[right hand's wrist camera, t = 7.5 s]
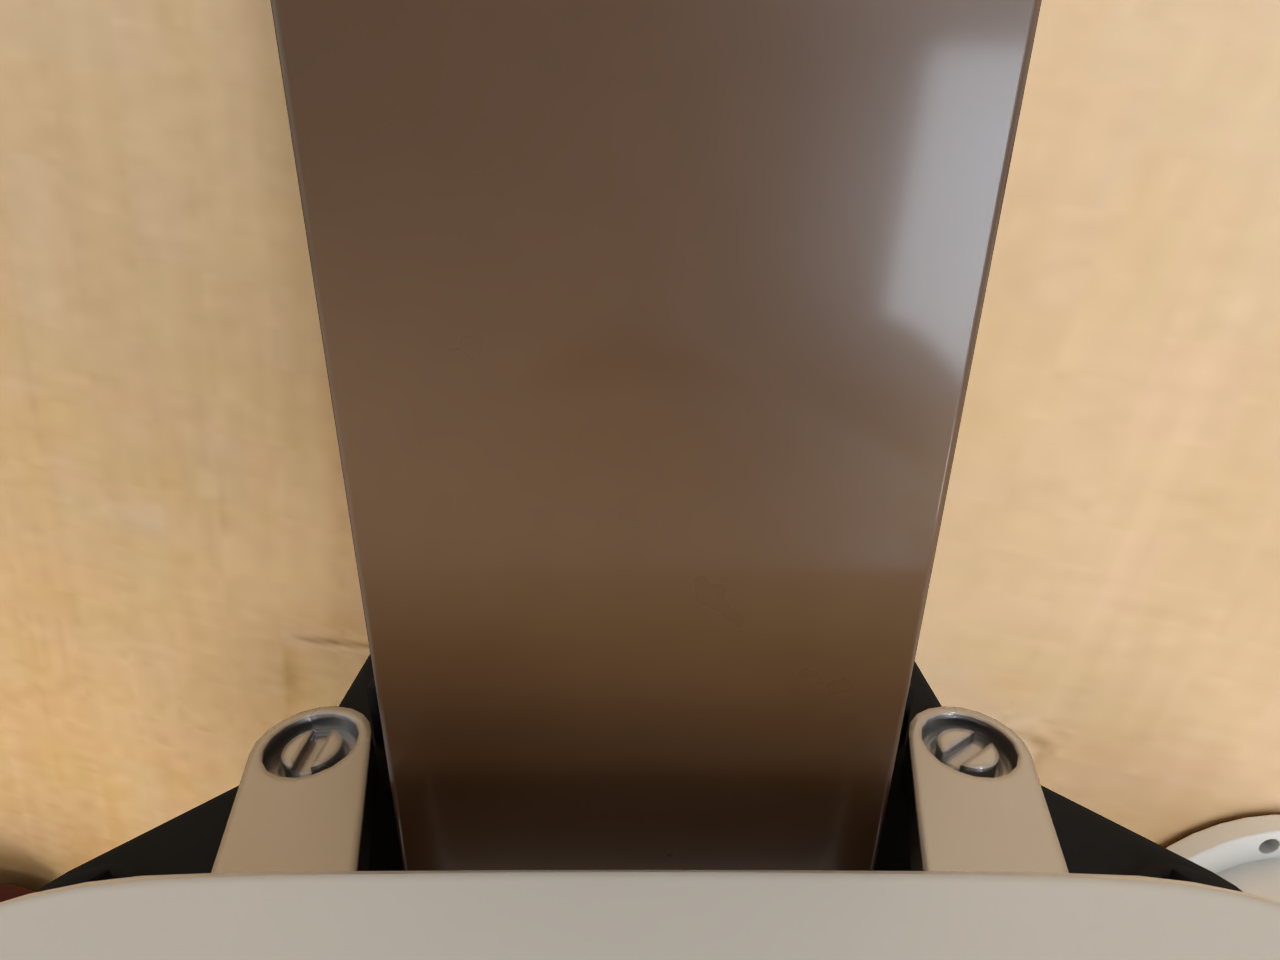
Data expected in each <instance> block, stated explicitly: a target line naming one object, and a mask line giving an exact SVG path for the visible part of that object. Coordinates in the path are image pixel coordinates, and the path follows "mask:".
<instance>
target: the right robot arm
mask: <svg viewBox="0 0 1280 960" xmlns="http://www.w3.org/2000/svg"><path fill="white" fill-rule="evenodd" d="M0 960H1280V815H1264V816H1254V817H1246V818H1241V819H1237V820H1233V821H1229V822H1225V823H1220V824H1217V825H1214V826H1212V827H1209V828H1206V829H1204V830H1201V831H1198V832H1196V833H1193V834H1191V835H1189V836H1187V837H1185V838H1183V839H1181V840H1179V841H1177V842H1176V843H1174V844H1172V845H1170V846H1168V847H1167V848H1164V847H1162V846H1160V845H1158V844H1156V843H1154V842H1152V841H1150V840H1148V839H1146V838H1144V837H1142V836H1140V835H1138V834H1136V833H1134V832H1132V831H1130V830H1128V829H1126V828H1124V827H1123V826H1121V825H1119V824H1117V823H1115V822H1113V821H1111V820H1109V819H1107V818H1105V817H1103V816H1101V815H1099V814H1097V813H1095V812H1093V811H1091V810H1089V809H1087V808H1085V807H1083V806H1081V805H1079V804H1077V803H1075V802H1073V801H1071V800H1069V799H1067V798H1065V797H1063V796H1061V795H1059V794H1057V793H1055V792H1053V791H1051V790H1049V789H1047V788H1045V787H1043V786H1041V785H1040V782H1039V779H1038V776H1037V773H1036V769H1035V766H1034V763H1033V760H1032V757H1031V755H1030V753H1029V751H1028V749H1027V747H1026V745H1025V744H1024V742H1023V741H1022V740H1021V739H1020V738H1019V737H1018V736H1017V735H1016V734H1015V733H1014V732H1013V731H1012V730H1011V729H1009V728H1008V727H1006V726H1005V725H1003V724H1002V723H1000V722H999V721H997V720H995V719H993V718H991V717H988V716H986V715H984V714H981V713H979V712H976V711H972V710H968V709H964V708H958V707H945V706H943V707H942V706H941V705H940V703H939V701H938V700H937V698H936V696H935V695H934V693H933V691H932V689H931V688H930V686H929V684H928V683H927V681H926V679H925V678H924V676H923V674H922V673H921V671H920V669H919V668H918V666H917V664H916V663H915V661H914V666H913V671H912V676H911V681H910V686H909V692H908V697H907V702H906V707H905V712H904V718H903V723H902V728H901V733H900V738H899V743H898V749H897V754H896V759H895V764H894V769H893V775H892V780H891V785H890V790H889V795H888V801H887V806H886V811H885V816H884V821H883V827H882V832H881V837H880V842H879V847H878V853H877V858H876V863H875V868H874V871H832V870H448V871H404V870H403V863H402V856H401V850H400V843H399V837H398V830H397V824H396V817H395V811H394V804H393V798H392V791H391V784H390V778H389V771H388V765H387V758H386V752H385V745H384V739H383V732H382V726H381V719H380V713H379V706H378V699H377V693H376V686H375V680H374V673H373V667H372V660H371V654H370V655H369V657H368V659H367V660H366V662H365V664H364V665H363V667H362V669H361V670H360V672H359V674H358V675H357V677H356V679H355V680H354V682H353V684H352V685H351V687H350V689H349V690H348V692H347V694H346V695H345V697H344V699H343V700H342V702H341V704H340V705H339V707H337V706H335V707H322V708H316V709H312V710H308V711H304V712H301V713H299V714H296V715H294V716H292V717H289V718H287V719H285V720H283V721H281V722H280V723H278V724H277V725H275V726H274V727H272V728H271V729H269V730H268V731H267V732H266V733H265V734H264V735H263V736H262V737H261V738H260V739H259V740H258V741H257V742H256V744H255V745H254V747H253V749H252V751H251V753H250V755H249V757H248V760H247V763H246V766H245V769H244V773H243V776H242V779H241V782H240V785H239V786H237V787H235V788H233V789H231V790H229V791H227V792H225V793H223V794H221V795H219V796H217V797H215V798H213V799H211V800H209V801H207V802H205V803H203V804H201V805H200V806H198V807H196V808H194V809H192V810H190V811H188V812H186V813H184V814H182V815H180V816H178V817H176V818H174V819H172V820H170V821H168V822H166V823H164V824H162V825H160V826H158V827H156V828H154V829H152V830H150V831H148V832H146V833H144V834H142V835H140V836H138V837H136V838H134V839H132V840H130V841H128V842H126V843H124V844H122V845H120V846H118V847H116V848H114V849H112V850H110V851H108V852H106V853H104V854H102V855H100V856H98V857H96V858H94V859H92V860H90V861H88V862H86V863H85V864H83V865H81V866H79V867H77V868H75V869H73V870H71V871H69V872H67V873H65V874H64V875H62V876H60V877H59V878H57V879H55V880H54V881H52V882H50V883H49V884H47V885H45V886H44V887H43V888H41V889H40V890H39V891H38V892H35V893H30V894H27V895H23V896H20V897H17V898H13V899H10V900H7V901H3V902H0Z"/></svg>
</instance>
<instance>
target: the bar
mask: <svg viewBox="0 0 1280 960" xmlns="http://www.w3.org/2000/svg"><path fill="white" fill-rule="evenodd" d="M1041 1H1042V0H271V6H272V13H273V19H274V26H275V32H276V39H277V45H278V52H279V58H280V65H281V71H282V78H283V85H284V91H285V98H286V104H287V111H288V117H289V124H290V130H291V137H292V143H293V150H294V156H295V163H296V170H297V176H298V183H299V189H300V196H301V202H302V209H303V215H304V222H305V228H306V235H307V242H308V248H309V255H310V261H311V268H312V274H313V281H314V287H315V294H316V300H317V307H318V313H319V320H320V327H321V333H322V340H323V346H324V353H325V359H326V366H327V372H328V379H329V385H330V392H331V399H332V405H333V412H334V418H335V425H336V431H337V438H338V444H339V451H340V457H341V464H342V470H343V477H344V484H345V490H346V497H347V503H348V510H349V516H350V523H351V529H352V536H353V542H354V549H355V556H356V562H357V569H358V575H359V582H360V588H361V595H362V601H363V608H364V614H365V621H366V627H367V634H368V641H369V647H370V654H371V660H372V667H373V673H374V680H375V686H376V693H377V699H378V706H379V713H380V719H381V726H382V732H383V739H384V745H385V752H386V758H387V765H388V771H389V778H390V784H391V791H392V798H393V804H394V811H395V817H396V824H397V830H398V837H399V843H400V850H401V856H402V863H403V870H404V871H448V870H832V871H874V868H875V863H876V858H877V853H878V847H879V842H880V837H881V832H882V827H883V821H884V816H885V811H886V806H887V801H888V795H889V790H890V785H891V780H892V775H893V769H894V764H895V759H896V754H897V749H898V743H899V738H900V733H901V728H902V723H903V718H904V712H905V707H906V702H907V697H908V692H909V686H910V681H911V676H912V671H913V666H914V660H915V655H916V650H917V645H918V640H919V634H920V629H921V624H922V619H923V614H924V608H925V603H926V598H927V593H928V588H929V582H930V577H931V572H932V567H933V562H934V556H935V551H936V546H937V541H938V536H939V531H940V525H941V520H942V515H943V510H944V505H945V499H946V494H947V489H948V484H949V479H950V473H951V468H952V463H953V458H954V453H955V447H956V442H957V437H958V432H959V427H960V421H961V416H962V411H963V406H964V401H965V395H966V390H967V385H968V380H969V375H970V369H971V364H972V359H973V354H974V349H975V344H976V338H977V333H978V328H979V323H980V318H981V312H982V307H983V302H984V297H985V292H986V286H987V281H988V276H989V271H990V266H991V260H992V255H993V250H994V245H995V240H996V234H997V229H998V224H999V219H1000V214H1001V208H1002V203H1003V198H1004V193H1005V188H1006V182H1007V177H1008V172H1009V167H1010V162H1011V157H1012V151H1013V146H1014V141H1015V136H1016V131H1017V125H1018V120H1019V115H1020V110H1021V105H1022V99H1023V94H1024V89H1025V84H1026V79H1027V73H1028V68H1029V63H1030V58H1031V53H1032V47H1033V42H1034V37H1035V32H1036V27H1037V21H1038V16H1039V11H1040V6H1041Z"/></svg>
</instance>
